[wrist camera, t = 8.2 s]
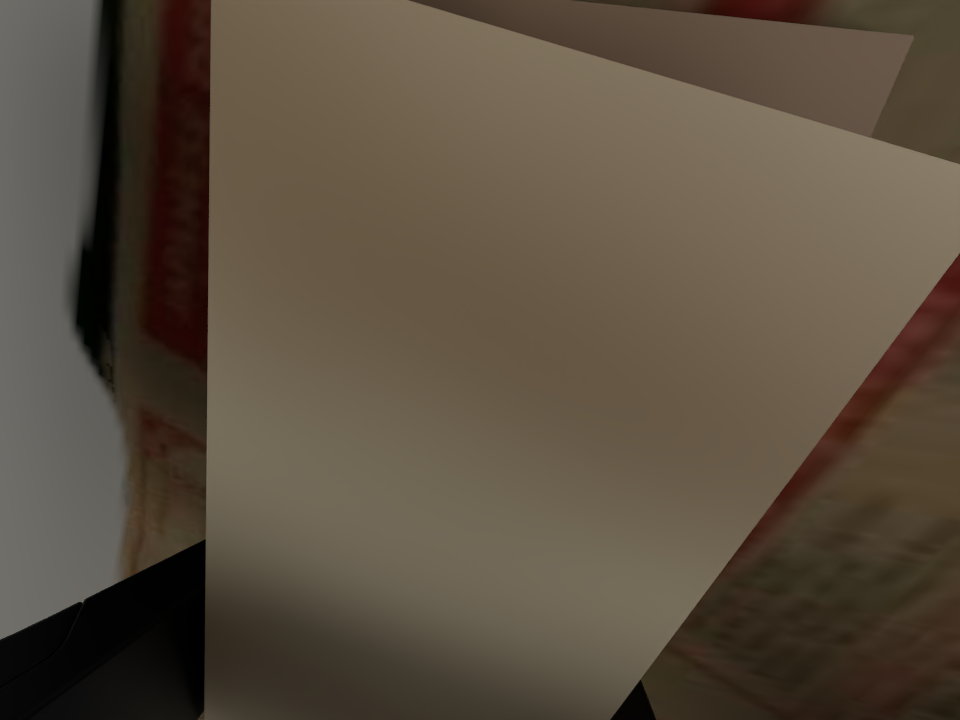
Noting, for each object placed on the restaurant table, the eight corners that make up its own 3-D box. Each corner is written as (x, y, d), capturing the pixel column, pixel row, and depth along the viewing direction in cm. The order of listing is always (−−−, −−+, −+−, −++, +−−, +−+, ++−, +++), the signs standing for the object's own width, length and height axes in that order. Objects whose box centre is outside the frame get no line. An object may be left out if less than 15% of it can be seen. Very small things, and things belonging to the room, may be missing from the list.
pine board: (471, 760, 14) (417, 976, 10) (306, 683, 14) (202, 863, 11) (800, 146, 6) (1014, 180, 3) (426, 31, 7) (211, -58, 3)
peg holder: (631, 659, 18) (631, 787, 15) (327, 561, 20) (265, 652, 17) (889, 43, 10) (1034, 1, 6) (318, -18, 12) (188, -74, 8)
